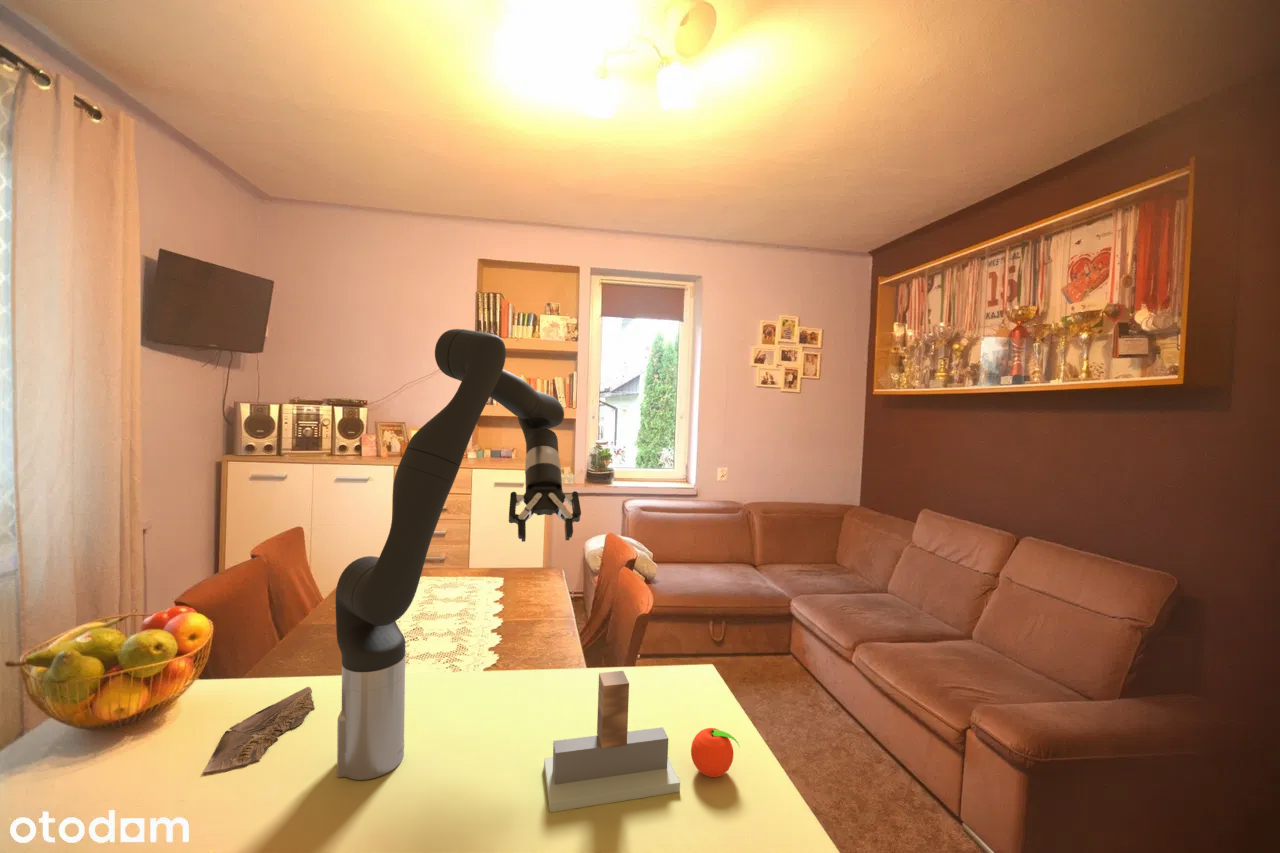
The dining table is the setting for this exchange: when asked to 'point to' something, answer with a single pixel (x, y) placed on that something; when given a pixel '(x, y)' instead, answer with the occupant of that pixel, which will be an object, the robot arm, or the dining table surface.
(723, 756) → the clementine
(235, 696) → the dining table surface
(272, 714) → the wooden fragment
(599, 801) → the ridge stand
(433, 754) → the dining table surface
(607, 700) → the walnut post
